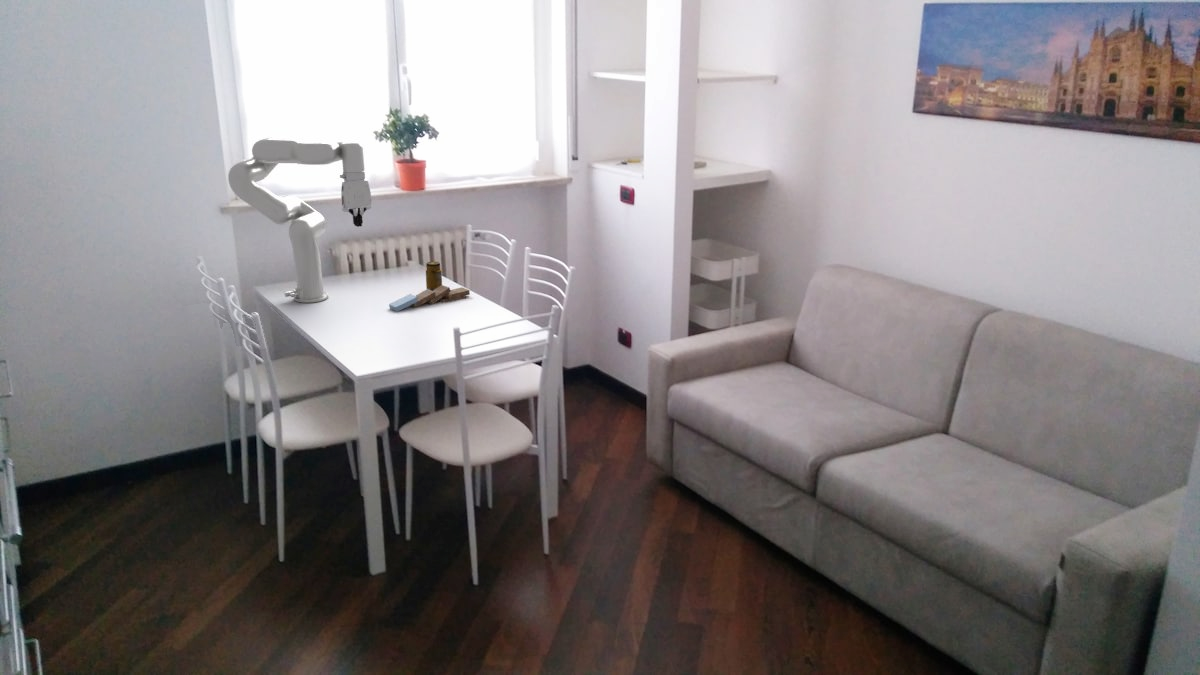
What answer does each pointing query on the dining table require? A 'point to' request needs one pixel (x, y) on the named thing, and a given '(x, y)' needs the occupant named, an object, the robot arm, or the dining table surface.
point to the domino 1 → (403, 302)
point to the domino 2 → (424, 297)
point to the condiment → (433, 275)
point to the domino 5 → (450, 299)
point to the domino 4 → (457, 293)
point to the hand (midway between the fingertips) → (358, 225)
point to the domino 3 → (439, 293)
